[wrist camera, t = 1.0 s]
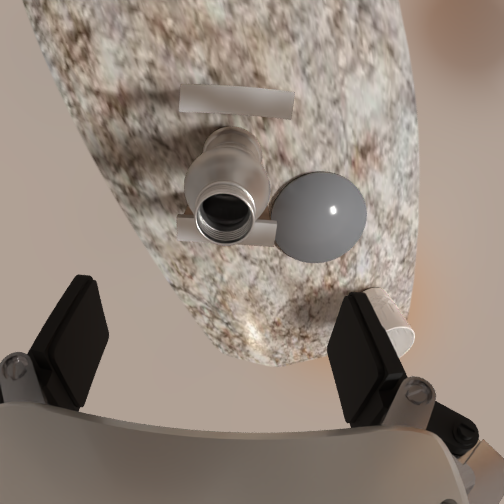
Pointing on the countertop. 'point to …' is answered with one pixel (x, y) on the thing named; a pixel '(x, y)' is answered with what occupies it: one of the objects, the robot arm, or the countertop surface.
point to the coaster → (319, 217)
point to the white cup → (391, 320)
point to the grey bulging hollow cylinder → (227, 186)
